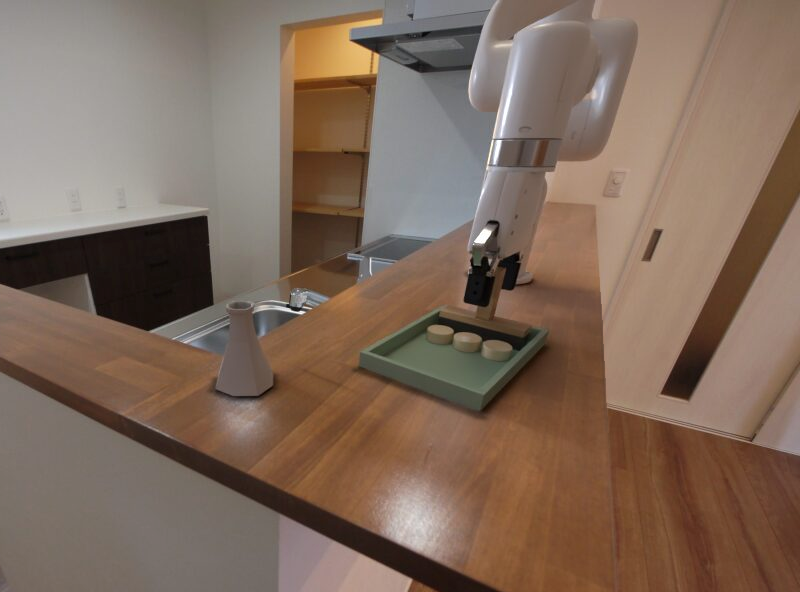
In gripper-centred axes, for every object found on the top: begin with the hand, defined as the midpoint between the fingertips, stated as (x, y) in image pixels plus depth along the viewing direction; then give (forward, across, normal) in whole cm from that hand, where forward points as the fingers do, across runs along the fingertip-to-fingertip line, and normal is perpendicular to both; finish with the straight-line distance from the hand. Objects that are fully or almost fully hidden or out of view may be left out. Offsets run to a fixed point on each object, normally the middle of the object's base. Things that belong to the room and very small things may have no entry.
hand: (489, 296), depth 59 cm
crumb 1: (+6, +5, -4) cm, 9 cm away
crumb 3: (+6, +5, +4) cm, 9 cm away
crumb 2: (+6, +5, 0) cm, 8 cm away
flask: (+7, +32, -16) cm, 36 cm away
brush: (+6, 0, 0) cm, 6 cm away
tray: (+7, +8, 0) cm, 10 cm away
